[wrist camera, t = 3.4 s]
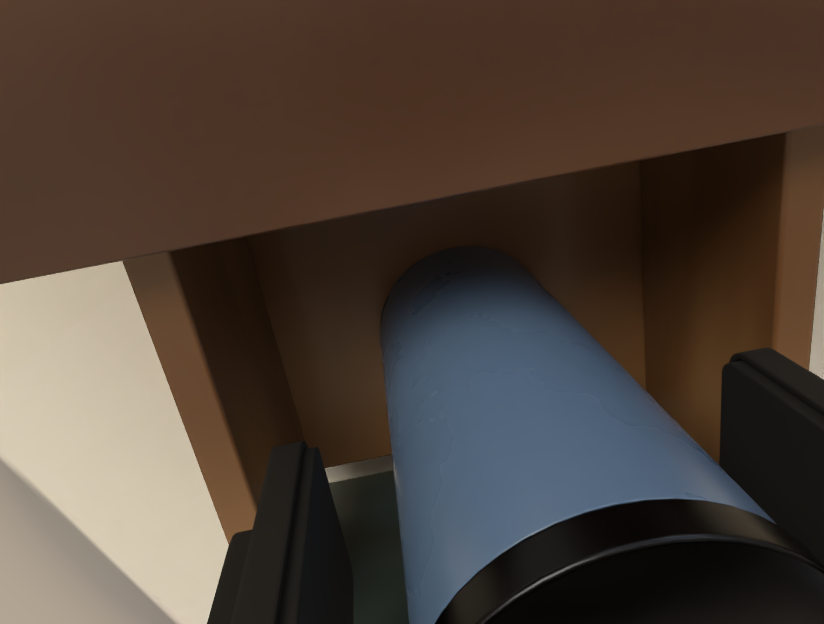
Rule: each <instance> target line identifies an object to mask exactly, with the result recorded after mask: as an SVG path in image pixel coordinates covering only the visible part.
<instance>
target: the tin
mask: <svg viewBox="0 0 824 624" xmlns="http://www.w3.org/2000/svg"><path fill="white" fill-rule="evenodd" d="M380 343H381V353H382V363H383V373H384V382H385V392H386V402H387V412H388V421H389V431H390V441H391V450H392V460H393V470H394V480H395V489H396V499H397V509H398V519H399V528H400V538H401V548H402V558H403V567H404V577H405V587H406V596H407V606H408V616H409V624H824V565H823V564H822V563H821V562H820V561H819V560H818V559H817V558H816V557H815V556H814V555H813V554H812V553H811V551H810V550H809V549H808V548H807V547H806V546H805V545H804V544H803V543H802V542H801V541H799V540H798V539H797V538H795V537H794V536H793V535H792V534H790V533H789V532H788V531H786V530H785V529H784V528H782V527H781V526H779V525H777V524H776V523H775V522H774V521H773V520H772V519H771V518H770V517H769V516H768V515H767V514H766V513H765V512H764V511H763V510H762V509H761V508H760V507H759V506H758V505H757V503H756V502H755V501H754V500H753V499H752V498H751V497H750V496H749V495H748V494H747V493H746V492H745V491H744V490H743V489H742V488H741V487H740V486H739V485H738V484H737V483H736V482H735V481H734V480H733V479H732V478H731V477H730V476H729V475H728V474H727V473H726V472H725V471H724V470H723V469H722V468H721V467H720V466H719V465H718V464H717V463H716V462H715V461H714V460H713V459H712V458H711V457H710V456H709V455H708V454H707V453H706V452H705V450H704V449H703V448H702V447H701V446H700V445H699V444H698V443H697V442H696V441H695V440H694V439H693V438H692V437H691V436H690V435H689V434H688V433H687V432H686V431H685V430H684V429H683V428H682V427H681V426H680V425H679V424H678V423H677V422H676V421H675V420H674V419H673V418H672V417H671V416H670V415H669V414H668V413H667V412H666V411H665V410H664V409H663V408H662V407H661V406H660V405H659V404H658V403H657V402H656V401H655V400H654V398H653V397H652V396H651V395H650V394H649V393H648V392H647V391H646V390H645V389H644V388H643V387H642V386H641V385H640V384H639V383H638V382H637V381H636V380H635V379H634V378H633V377H632V376H631V375H630V374H629V373H628V372H627V371H626V370H625V369H624V368H623V367H622V366H621V365H620V364H619V363H618V362H617V361H616V360H615V359H614V358H613V357H612V356H611V355H610V354H609V353H608V352H607V351H606V350H605V349H604V348H603V347H602V345H601V344H600V343H599V342H598V341H597V340H596V339H595V338H594V337H593V336H592V335H591V334H590V333H589V332H588V331H587V330H586V329H585V328H584V327H583V326H582V325H581V324H580V323H579V322H578V321H577V320H576V319H575V318H574V317H573V316H572V315H571V314H570V313H569V312H568V311H567V310H566V309H565V308H564V307H563V306H562V305H561V304H560V303H559V302H558V301H557V300H556V299H555V298H554V297H553V296H552V295H551V293H550V292H549V291H548V290H547V289H546V288H545V287H544V286H543V285H542V284H541V283H540V282H539V281H538V280H537V279H536V278H535V277H534V276H533V275H532V274H531V273H530V272H529V271H528V270H527V269H526V268H525V267H524V266H523V265H521V264H520V263H519V262H518V261H516V260H515V259H513V258H511V257H510V256H508V255H506V254H504V253H501V252H499V251H496V250H492V249H489V248H483V247H476V246H463V247H455V248H450V249H446V250H442V251H439V252H437V253H434V254H432V255H429V256H427V257H426V258H424V259H422V260H420V261H419V262H417V263H416V264H415V265H413V266H412V267H411V268H409V269H408V270H407V271H406V272H405V273H404V274H403V275H402V276H401V277H400V279H399V280H398V281H397V282H396V283H395V285H394V286H393V288H392V290H391V291H390V293H389V295H388V297H387V299H386V301H385V304H384V307H383V310H382V314H381V320H380Z"/></svg>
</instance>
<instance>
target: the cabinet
mask: <svg viewBox="0 0 824 624" xmlns="http://www.w3.org/2000/svg"><path fill="white" fill-rule="evenodd" d="M822 125H824V0H0V284H4V283H9V282H14V281H19V280H25V279H30V278H35V277H40V276H45V275H51V274H56V273H61V272H66V271H71V270H76V269H82V268H87V267H92V266H97V265H102V264H107V263H113V262H118V261H123V260H128V259H133V258H139V257H144V256H149V255H154V254H159V253H164V252H170V251H175V250H180V249H185V248H190V247H196V246H201V245H206V244H211V243H216V242H221V241H227V240H232V239H237V238H242V237H247V236H253V235H258V234H263V233H268V232H273V231H278V230H284V229H289V228H294V227H299V226H304V225H310V224H315V223H320V222H325V221H330V220H335V219H341V218H346V217H351V216H356V215H361V214H367V213H372V212H377V211H382V210H387V209H392V208H398V207H403V206H408V205H413V204H418V203H424V202H429V201H434V200H439V199H444V198H449V197H455V196H460V195H465V194H470V193H475V192H481V191H486V190H491V189H496V188H501V187H506V186H512V185H517V184H522V183H527V182H532V181H538V180H543V179H548V178H553V177H558V176H563V175H569V174H574V173H579V172H584V171H589V170H594V169H600V168H605V167H610V166H615V165H620V164H626V163H631V162H636V161H641V160H646V159H651V158H657V157H662V156H667V155H672V154H677V153H683V152H688V151H693V150H698V149H703V148H708V147H714V146H719V145H724V144H729V143H734V142H740V141H745V140H750V139H755V138H760V137H765V136H771V135H776V134H781V133H786V132H791V131H797V130H802V129H807V128H812V127H817V126H822Z"/></svg>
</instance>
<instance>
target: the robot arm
mask: <svg viewBox="0 0 824 624" xmlns="http://www.w3.org/2000/svg"><path fill="white" fill-rule="evenodd" d="M719 466H720V467H721V468H722V469H723V470H724V471H725V472H726V473H727V474H728V475H729V476H730V477H731V478H732V479H733V480H734V481H735V482H736V483H737V484H738V485H739V486H740V487H741V488H742V489H743V490H744V491H745V492H746V493H747V494H748V495H749V496H750V497H751V498H752V499H753V500H754V501H755V502H756V503H757V505H758V506H759V507H760V508H761V509H762V510H763V511H764V512H765V513H766V514H767V515H768V516H769V517H770V518H771V519H772V520H773V521H774V522H775V523H776V524H777V525H779V526H781V527H782V528H784V529H785V530H786V531H788V532H789V533H790V534H792V535H793V536H794V537H795V538H797V539H798V540H799V541H801V542H802V543H803V544H804V545H805V546H806V547H807V548H808V549H809V550H810V551H811V553H812V554H813V555H814V556H815V557H816V558H817V559H818V560H819V561H820V562H821V563H822V564H823V565H824V380H823V379H821V378H820V377H818V376H816V375H815V374H813V373H812V372H810V371H808V370H807V369H805V368H803V367H802V366H800V365H798V364H797V363H795V362H793V361H792V360H790V359H789V358H787V357H785V356H784V355H782V354H780V353H779V352H777V351H775V350H774V349H771V348H769V347H767V348H760V349H755V350H750V351H745V352H740V353H735V354H734V355H732V357H731V358H730V361H729V363H727V364H725V365H724V366H723V368H722V383H721V420H720V457H719ZM353 602H354V584H353V572H352V566H351V562H350V558H349V554H348V551H347V547H346V543H345V540H344V536H343V533H342V529H341V526H340V522H339V518H338V515H337V511H336V508H335V504H334V500H333V497H332V493H331V490H330V486H329V482H328V479H327V475H326V472H325V468H324V464H323V461H322V457H321V454H320V451H319V448H318V447H312V448H308V446H307V444H306V442H305V441H300V442H295V443H290V444H285V445H280V446H275V447H273V448H272V449H271V452H270V457H269V461H268V465H267V469H266V474H265V478H264V482H263V486H262V491H261V495H260V499H259V503H258V508H257V512H256V516H255V520H254V525H253V529H252V530H247V531H242V532H237V533H235V534H234V535H233V536H232V539H231V541H230V543H229V547H228V551H227V554H226V558H225V561H224V565H223V568H222V572H221V576H220V579H219V583H218V586H217V590H216V594H215V597H214V601H213V604H212V608H211V611H210V615H209V619H208V622H207V624H353Z"/></svg>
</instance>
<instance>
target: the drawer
mask: <svg viewBox="0 0 824 624" xmlns="http://www.w3.org/2000/svg"><path fill="white" fill-rule="evenodd" d="M823 208H824V125H822V126H817V127H812V128H807V129H802V130H797V131H791V132H786V133H781V134H776V135H771V136H765V137H760V138H755V139H750V140H745V141H740V142H734V143H729V144H724V145H719V146H714V147H708V148H703V149H698V150H693V151H688V152H683V153H677V154H672V155H667V156H662V157H657V158H651V159H646V160H641V161H636V162H631V163H626V164H620V165H615V166H610V167H605V168H600V169H594V170H589V171H584V172H579V173H574V174H569V175H563V176H558V177H553V178H548V179H543V180H538V181H532V182H527V183H522V184H517V185H512V186H506V187H501V188H496V189H491V190H486V191H481V192H475V193H470V194H465V195H460V196H455V197H449V198H444V199H439V200H434V201H429V202H424V203H418V204H413V205H408V206H403V207H398V208H392V209H387V210H382V211H377V212H372V213H367V214H361V215H356V216H351V217H346V218H341V219H335V220H330V221H325V222H320V223H315V224H310V225H304V226H299V227H294V228H289V229H284V230H278V231H273V232H268V233H263V234H258V235H253V236H247V237H242V238H237V239H232V240H227V241H221V242H216V243H211V244H206V245H201V246H196V247H190V248H185V249H180V250H175V251H170V252H164V253H159V254H154V255H149V256H144V257H139V258H133V259H128V260H123V264H124V266H125V269H126V272H127V274H128V277H129V280H130V282H131V285H132V288H133V290H134V293H135V296H136V298H137V301H138V304H139V306H140V309H141V312H142V314H143V317H144V320H145V322H146V325H147V328H148V330H149V333H150V336H151V338H152V341H153V344H154V346H155V349H156V352H157V354H158V357H159V360H160V362H161V365H162V368H163V370H164V373H165V376H166V378H167V381H168V384H169V386H170V389H171V392H172V394H173V397H174V400H175V402H176V405H177V408H178V410H179V413H180V416H181V418H182V421H183V424H184V426H185V429H186V432H187V434H188V437H189V440H190V442H191V445H192V448H193V450H194V453H195V456H196V458H197V461H198V464H199V466H200V469H201V472H202V474H203V477H204V480H205V482H206V485H207V488H208V490H209V493H210V496H211V498H212V501H213V504H214V506H215V509H216V512H217V514H218V517H219V520H220V522H221V525H222V528H223V530H224V533H225V536H226V538H227V541H228V544H229V543H230V541H231V539H232V536H233V535H234V534H235V533H237V532H242V531H247V530H252V529H253V525H254V520H255V516H256V512H257V508H258V503H259V499H260V495H261V491H262V486H263V482H264V478H265V474H266V469H267V465H268V461H269V457H270V452H271V449H272V448H273V447H275V446H280V445H285V444H290V443H295V442H300V441H305V442H306V444H307V446H308V448H312V447H318V448H319V451H320V454H321V457H322V461H323V464H324V468H327V467H332V466H337V465H342V464H347V463H352V462H357V461H362V460H367V459H371V458H376V457H381V456H386V455H391V454H392V450H391V441H390V431H389V421H388V412H387V402H386V392H385V382H384V373H383V363H382V353H381V343H380V320H381V314H382V310H383V307H384V304H385V301H386V299H387V297H388V295H389V293H390V291H391V290H392V288H393V286H394V285H395V283H396V282H397V281H398V280H399V279H400V277H401V276H402V275H403V274H404V273H405V272H406V271H407V270H408V269H409V268H411V267H412V266H413V265H415V264H416V263H417V262H419V261H420V260H422V259H424V258H426V257H427V256H429V255H432V254H434V253H437V252H439V251H442V250H446V249H450V248H455V247H463V246H476V247H483V248H489V249H492V250H496V251H499V252H501V253H504V254H506V255H508V256H510V257H511V258H513V259H515V260H516V261H518V262H519V263H520V264H521V265H523V266H524V267H525V268H526V269H527V270H528V271H529V272H530V273H531V274H532V275H533V276H534V277H535V278H536V279H537V280H538V281H539V282H540V283H541V284H542V285H543V286H544V287H545V288H546V289H547V290H548V291H549V292H550V293H551V295H552V296H553V297H554V298H555V299H556V300H557V301H558V302H559V303H560V304H561V305H562V306H563V307H564V308H565V309H566V310H567V311H568V312H569V313H570V314H571V315H572V316H573V317H574V318H575V319H576V320H577V321H578V322H579V323H580V324H581V325H582V326H583V327H584V328H585V329H586V330H587V331H588V332H589V333H590V334H591V335H592V336H593V337H594V338H595V339H596V340H597V341H598V342H599V343H600V344H601V345H602V347H603V348H604V349H605V350H606V351H607V352H608V353H609V354H610V355H611V356H612V357H613V358H614V359H615V360H616V361H617V362H618V363H619V364H620V365H621V366H622V367H623V368H624V369H625V370H626V371H627V372H628V373H629V374H630V375H631V376H632V377H633V378H634V379H635V380H636V381H637V382H638V383H639V384H640V385H641V386H642V387H643V388H644V389H645V390H646V391H647V392H648V393H649V394H650V395H651V396H652V397H653V398H654V400H655V401H656V402H657V403H658V404H659V405H660V406H661V407H662V408H663V409H664V410H665V411H666V412H667V413H668V414H669V415H670V416H671V417H672V418H673V419H674V420H675V421H676V422H677V423H678V424H679V425H680V426H681V427H682V428H683V429H684V430H685V431H686V432H687V433H688V434H689V435H690V436H691V437H692V438H693V439H694V440H695V441H696V442H697V443H698V444H699V445H700V446H701V447H702V448H703V449H704V450H705V452H706V453H707V454H708V455H709V456H710V457H711V458H712V459H713V460H714V461H715V462H716V463H717V464H718V465H719V457H720V420H721V383H722V368H723V366H724V365H725V364H727V363H729V361H730V358H731V357H732V355H734V354H735V353H740V352H745V351H750V350H755V349H760V348H767V347H769V348H771V349H774V350H775V351H777V352H779V353H780V354H782V355H784V356H785V357H787V358H789V359H790V360H792V361H793V362H795V363H797V364H798V365H800V366H802V367H803V368H805V369H807V370H808V371H809V363H810V352H811V341H812V330H813V319H814V308H815V297H816V286H817V275H818V264H819V253H820V242H821V231H822V220H823ZM329 486H330V490H331V493H332V497H333V500H334V504H335V508H336V511H337V515H338V518H339V522H340V526H341V529H342V533H343V536H344V540H345V543H346V547H347V551H348V554H349V558H350V562H351V566H352V572H353V584H354V602H353V624H409V616H408V606H407V596H406V587H405V577H404V567H403V558H402V548H401V538H400V528H399V519H398V509H397V499H396V489H395V480H394V470H392V471H387V472H382V473H377V474H372V475H367V476H362V477H357V478H352V479H348V480H343V481H338V482H333V483H329Z"/></svg>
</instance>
